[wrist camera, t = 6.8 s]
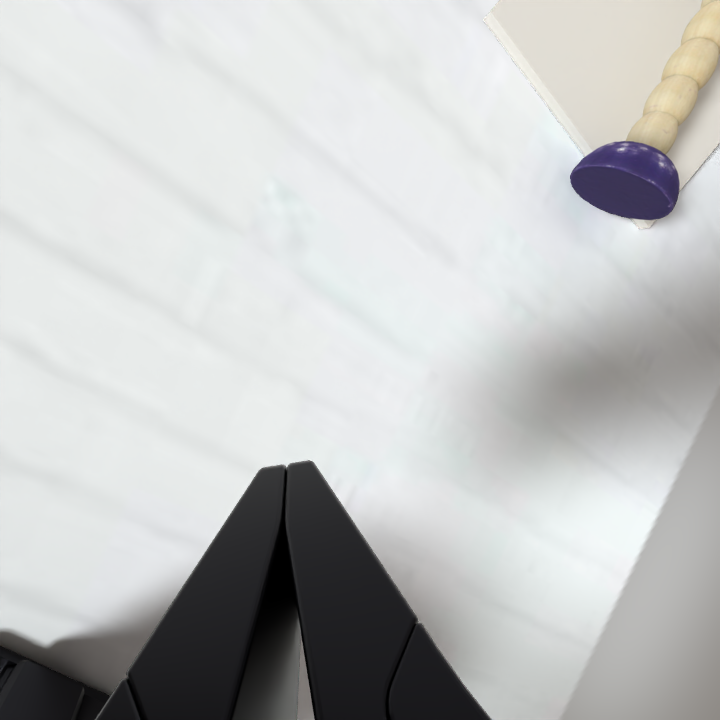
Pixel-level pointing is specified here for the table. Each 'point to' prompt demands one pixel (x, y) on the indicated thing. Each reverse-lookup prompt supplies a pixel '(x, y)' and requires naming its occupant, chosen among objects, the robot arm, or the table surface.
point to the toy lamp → (654, 132)
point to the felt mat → (607, 68)
